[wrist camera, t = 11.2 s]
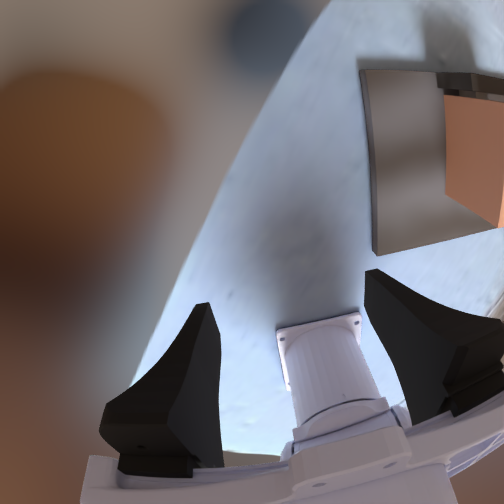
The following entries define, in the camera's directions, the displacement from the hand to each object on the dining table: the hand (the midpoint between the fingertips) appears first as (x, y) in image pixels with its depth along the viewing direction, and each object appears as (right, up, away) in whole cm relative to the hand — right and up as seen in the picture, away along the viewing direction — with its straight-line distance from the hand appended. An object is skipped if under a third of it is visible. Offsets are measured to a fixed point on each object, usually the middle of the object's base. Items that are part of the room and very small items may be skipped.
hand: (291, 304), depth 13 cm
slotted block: (+15, +11, +5) cm, 19 cm away
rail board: (+16, +10, +6) cm, 20 cm away
